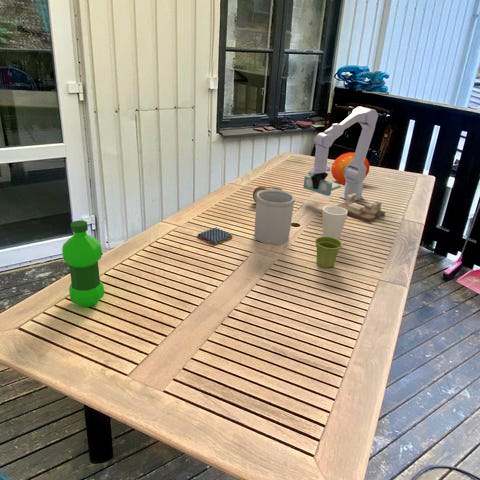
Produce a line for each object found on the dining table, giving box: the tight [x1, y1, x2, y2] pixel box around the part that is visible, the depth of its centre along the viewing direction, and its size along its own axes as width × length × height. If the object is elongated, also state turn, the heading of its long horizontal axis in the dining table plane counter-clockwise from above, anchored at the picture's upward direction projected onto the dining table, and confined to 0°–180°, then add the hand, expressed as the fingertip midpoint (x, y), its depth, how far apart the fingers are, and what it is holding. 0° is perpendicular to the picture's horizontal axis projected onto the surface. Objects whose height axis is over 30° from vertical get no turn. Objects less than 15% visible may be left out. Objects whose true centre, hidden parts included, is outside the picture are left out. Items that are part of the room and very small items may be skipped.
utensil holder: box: [254, 189, 296, 245], centre depth 172 cm, size 15×15×18 cm
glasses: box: [303, 174, 342, 197], centre depth 210 cm, size 10×14×6 cm
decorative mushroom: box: [330, 152, 370, 185], centre depth 244 cm, size 15×21×15 cm
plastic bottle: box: [61, 220, 105, 308], centre depth 123 cm, size 10×10×25 cm
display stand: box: [336, 193, 386, 223], centre depth 203 cm, size 14×19×6 cm
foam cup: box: [322, 205, 348, 241], centre depth 173 cm, size 10×9×13 cm
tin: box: [252, 185, 284, 203], centre depth 206 cm, size 15×3×8 cm, turn 84°
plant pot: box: [314, 236, 343, 269], centre depth 156 cm, size 9×9×9 cm
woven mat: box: [196, 226, 233, 246], centre depth 172 cm, size 10×11×2 cm
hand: (317, 188), depth 208 cm, fingers closed on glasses, 2 cm apart
